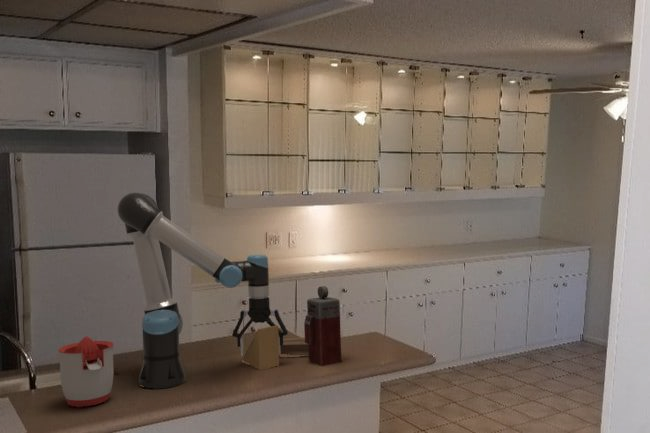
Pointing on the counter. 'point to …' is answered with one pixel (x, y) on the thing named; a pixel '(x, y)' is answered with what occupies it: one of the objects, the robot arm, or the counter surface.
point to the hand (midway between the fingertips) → (260, 354)
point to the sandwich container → (264, 349)
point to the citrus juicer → (86, 372)
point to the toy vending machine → (323, 329)
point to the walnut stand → (294, 346)
